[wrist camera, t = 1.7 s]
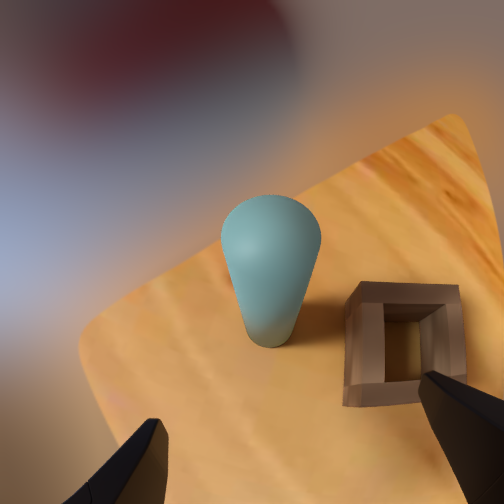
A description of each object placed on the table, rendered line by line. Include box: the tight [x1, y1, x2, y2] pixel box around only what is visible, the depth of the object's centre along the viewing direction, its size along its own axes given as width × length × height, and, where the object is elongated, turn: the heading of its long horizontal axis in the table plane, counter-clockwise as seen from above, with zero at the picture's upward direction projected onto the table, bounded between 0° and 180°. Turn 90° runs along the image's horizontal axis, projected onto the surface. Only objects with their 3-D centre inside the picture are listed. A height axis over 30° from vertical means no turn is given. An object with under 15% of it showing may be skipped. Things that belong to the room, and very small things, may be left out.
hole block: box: [342, 281, 467, 407], centre depth 18 cm, size 8×8×4 cm
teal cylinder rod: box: [221, 195, 321, 348], centre depth 16 cm, size 4×4×13 cm
